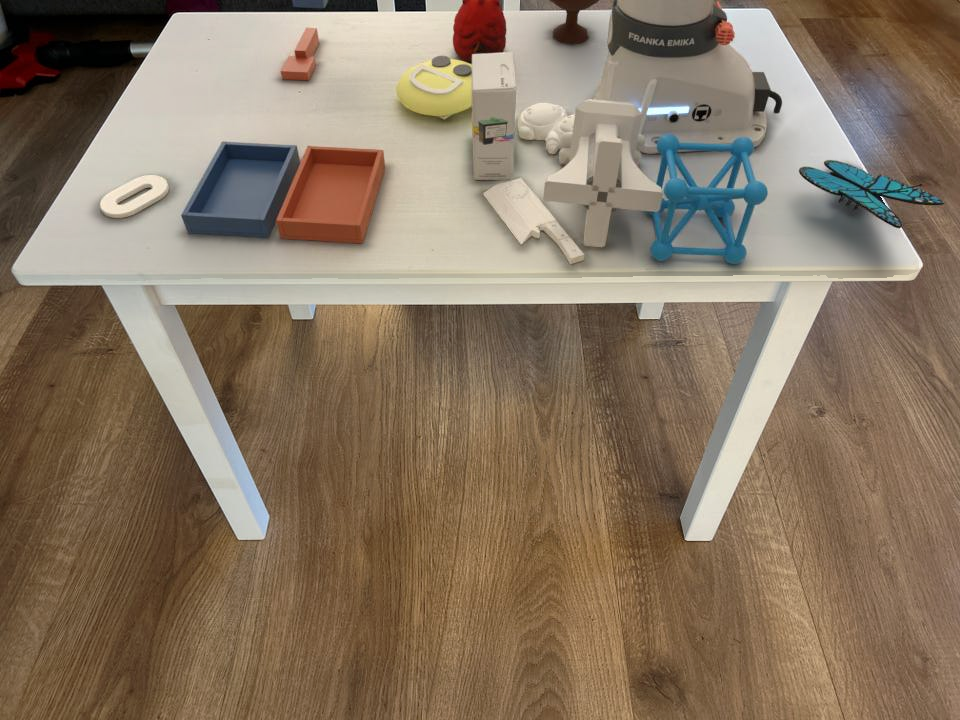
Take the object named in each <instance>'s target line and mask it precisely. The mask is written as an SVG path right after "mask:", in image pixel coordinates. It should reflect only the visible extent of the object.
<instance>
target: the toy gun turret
mask: <svg viewBox="0 0 960 720" xmlns="http://www.w3.org/2000/svg"><path fill="white" fill-rule="evenodd" d="M608 66H609V73H608V80H607V86H606V93H605V100H595V99H592V98H588V99H586V100H584V101H583V102H581V103H580V104H579V105H578V106H576V107H575V111H574V114H575V118H574V126H573V132H567V133H565V134H564V135H563V136H562V147H563V149H559V151H558V162H559V164H561V165H565V166H563V167H562V168H561V169H559V170H558V171H556V172H554V173H552V174H550V175H548V176H547V177H545V180H544V185H543V186H544V187H543V197H542V199H543V200H544V201H545V202H553V203H561V204H563V203H564V204H572V205H573V204H574V205H582V206H583V207H584V208H585V209H586V215H585V222H584V223H585V224H584V225H585V226H584V233H583V245H584V246H586V247H595V248H604V247H605V246H606V243H607V238H608V231H609V224H610V221H611V215H612V213H613V212H616V210H618V209H624V210H633V211H641V212H642V211H643V212H646V211H652V212H658V211H659V210H660V206H661V202H662V198H664V189H663V188H662V189H661V187H660V186H658V185H657V184H656V182H654V181H652V180H651V178H649V177H648V176H646V175H645V174H644V172H642V170H641V169H640V168H639V166H638V165H639V163H640V162H641V159H642V152H641V150H642V148H643V146H644V144H645V142H646V139H645V137H644V136H643V135H641V134H639V129H640V124H641V119H642V113H641V111H640V110H639V109H638V108H637V106H636V105H634V104H631V103H628V102H617V101H611V97H612V91H613V84H614V78H615V72H616V68H617V67H618V61H616V60H610V61H609V65H608Z"/></svg>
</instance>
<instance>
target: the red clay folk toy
mask: <svg viewBox="0 0 960 720" xmlns="http://www.w3.org/2000/svg"><path fill="white" fill-rule="evenodd" d="M461 2H462V4H461V6H459V9H458V11H457V12H456V14H455V16H454V20H453V21H454V22H453V25H452V30H453V35H452V45H453V50H454V52H455V54H456V55H457V57H458V58H459V59H461V61H464V62H467V63H469V64H471V65H472V54H487V53H503V52H505V49H506V44H507V37H506V36H507V20H506V18H505V14H504V11H503V9H502V7H501V4H500V0H462V1H461Z"/></svg>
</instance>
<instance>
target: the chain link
mask: <svg viewBox="0 0 960 720" xmlns="http://www.w3.org/2000/svg"><path fill="white" fill-rule="evenodd" d="M147 188H149V189H150V190H147V191H146V192H144V193H142V194H140V195H139V196H137V197H135V198H133V199H131V200H130V201H128V202H126V203H123V204H119V203H121V202H122V201H124V200H126V199H128V198H129V197H131V196H134V195H135V194H137V193H139V192H140V191H142V190H144V189H147ZM169 190H170V186H169V183H168V181H167V180H166V179H165V177H162V176H160V175H156V174H147V175H142V176H141V175H140V176H138V177H136V178H133V179H132V180H129V181H127V182H126V183H123V184H122V185H121V186H119V187H117V188H115V189H113V190H111V191H109V192H108V193H106V194H105V195H104V196H103V197H102V198H101V200H100V203H99V207H100V209H101V213H103V215H104V216H107V217H108V218H109V217H110V218H114V219H123V218H127V217H131V216H133V215H135V214H138V213H139V212H141V211H143V210H144V209H146V208H148V207H150V206H152V205H153V204H156V203H158V202H159V201H161V200H162V199H164V198H165V197H166V196H167V194H168V193H169Z"/></svg>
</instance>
